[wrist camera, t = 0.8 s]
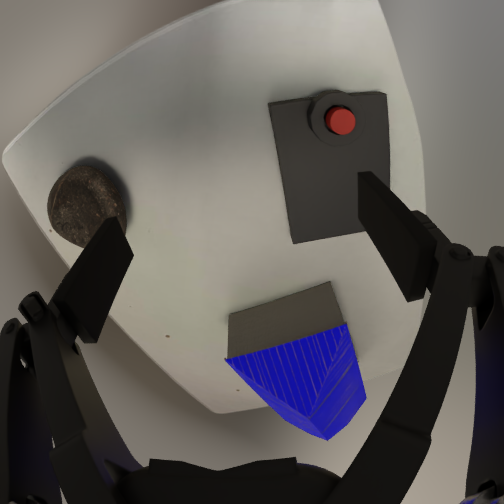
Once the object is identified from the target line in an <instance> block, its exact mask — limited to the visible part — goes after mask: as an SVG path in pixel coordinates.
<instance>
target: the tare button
mask: <svg viewBox="0 0 504 504" xmlns="http://www.w3.org/2000/svg"><path fill="white" fill-rule="evenodd" d="M326 123H327V125H328V126H329V128H331V129H332V130H333V131H334V132H336V133H338V134H341V135H345V134H348V133H350V132H351V131H352V130H353V129H354V127H355V117H354V115H353V114H352V113H351V112H350V111H349V110H347V109H344V108H342V107H334V108H332V109H330V110H329V111H328V113H327V115H326Z"/></svg>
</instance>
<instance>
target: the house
mask: <svg viewBox="0 0 504 504" xmlns="http://www.w3.org/2000/svg"><path fill="white" fill-rule="evenodd" d="M225 361H226V362H227V363H228V364H229V365H230V366H231V367H232V368H233V369H234V370H235V371H236V373H237V374H238V375H239V376H240V377H241V378H242V379H243V380H244V381H245V382H246V383H247V384H248V385H249V386H250V387H251V388H252V389H253V390H254V391H255V392H256V393H257V394H258V395H259V396H260V397H261V398H262V399H263V400H264V401H265V402H266V403H267V404H268V405H269V406H271V407H272V408H273V409H274V410H275V411H276V412H277V413H278V414H279V415H280V416H281V417H282V418H283V419H284V420H285V421H287V422H289V423H291V424H293V425H294V426H296V427H298V428H300V429H302V430H304V431H305V432H307V433H309V434H311V435H314V436H317V437H319V438H322V439H324V440H327V441H328V440H329V439H330V438H332V437H333V436H334V435H335V434H336V433H338V432H339V431H340V430H341V429H343V428H344V427H345V426H346V425H347V424H348V423H349V422H350V421H351V419H352V418H353V416H354V415H355V414H356V412H357V411H358V410H359V408H360V407H361V405H362V404H363V403H364V401H365V400H366V394H365V389H364V385H363V381H362V377H361V374H360V370H359V366H358V362H357V358H356V355H355V351H354V347H353V344H352V340H351V337H350V333H349V330H348V326H347V323H346V322H345V324H344V322H343V318H342V315H341V312H340V309H339V306H338V303H337V300H336V297H335V294H334V291H333V288H332V285H331V282H327V283H324V284H321V285H318V286H316V287H313V288H310V289H307V290H304V291H301V292H298V293H295V294H292V295H290V296H287V297H284V298H281V299H278V300H275V301H272V302H268V303H265V304H262V305H259V306H256V307H253V308H250V309H247V310H243V311H240V312H237V313H234V314H231V315H229V325H228V356H227V359H226V358H225Z"/></svg>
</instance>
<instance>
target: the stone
mask: <svg viewBox="0 0 504 504" xmlns="http://www.w3.org/2000/svg"><path fill="white" fill-rule="evenodd" d="M47 211H48V216H49V220H50V223H51V226H52V227H53V229H54V230H55V231H56V232H57V233H58V234H59V235H60V236H61V237H63V238H64V239H66V240H68V241H69V242H71V243H73V244H75V245H77V246H80V247H82V248H85V247H86V245H87V244H88V242H89V241H90V240H91V238H92V237H93V235H94V234H95V233H96V231H97V230H98V228H99V227H100V226H101V224H102V223H103V222H104V220H105V219H106V218H110V217H114V216H117V218H118V221H119V223H120V225H121V228H122V230H123V232H124V234H126V227H127V220H126V211H125V207H124V203H123V201H122V198H121V196H120V194H119V192H118V191H117V189H116V188H115V186H114V185H113V183H112V182H111V181H110V179H109V178H108V177H107V176H106V175H105V174H104V173H103V172H102V171H100V170H99V169H97V168H95V167H92V166H78V167H74V168H71V169H70V170H68V171H67V172H65V173H64V174H63V175H62V176H60V178H59V179H58V180H57V181H56V183H55V184H54V186H53V187H52V189H51V191H50V194H49V197H48V203H47Z"/></svg>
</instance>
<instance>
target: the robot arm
mask: <svg viewBox="0 0 504 504" xmlns="http://www.w3.org/2000/svg"><path fill="white" fill-rule="evenodd" d="M357 174H358V219H359V221H360V222H361V224H362V226H363V227H364V229H365V230H366V232H367V233H368V235H369V237H370V238H371V240H372V241H373V243H374V245H375V246H376V248H377V250H378V251H379V253H380V255H381V256H382V258H383V260H384V261H385V263H386V265H387V267H388V268H389V270H390V272H391V273H392V275H393V277H394V279H395V281H396V282H397V284H398V286H399V288H400V290H401V291H402V293H403V295H404V297H405V299H406V301H407V302H411V301H415V300H419V299H423V298H424V295H425V291H426V288H428V290H429V292H430V293H431V295H430V299H429V302H428V305H427V308H426V311H425V314H424V317H423V320H422V322H421V325H420V328H419V331H418V333H417V336H416V339H415V341H414V344H413V346H412V349H411V351H410V354H409V356H408V359H407V361H406V363H405V366H404V368H403V370H402V372H401V375H400V377H399V379H398V381H397V383H396V385H395V388H394V390H393V392H392V394H391V396H390V398H389V400H388V402H387V404H386V406H385V408H384V409H383V411H382V413H381V415H380V417H379V419H378V420H377V422H376V424H375V426H374V428H373V430H372V431H371V433H370V435H369V436H368V438H367V440H366V442H365V443H364V445H363V446H362V448H361V450H360V451H359V453H358V454H357V456H356V457H355V459H354V461H353V462H352V464H351V465H350V467H349V468H348V470H347V471H346V473H345V474H344V475H343V477H342V478H341V477H339V476H338V475H336V474H334V473H333V472H330V471H328V470H326V469H324V468H321V467H318V466H314V465H309V464H302V463H297V460H296V457H291V458H282V459H273V460H261V461H255V462H251V463H248V464H244V465H241V466H237V467H233V468H229V469H225V470H220V471H216V470H211V469H207V468H204V467H199V466H196V465H193V464H189V463H186V462H182V461H172V460H160V459H150V461H149V466H147V467H142V466H141V465H140V464H139V463H138V462H137V461H136V460H135V459H134V457H133V456H132V455H131V453H130V451H129V450H128V448H127V446H126V444H125V443H124V441H123V439H122V438H121V436H120V434H119V432H118V430H117V429H116V427H115V425H114V423H113V421H112V419H111V417H110V415H109V413H108V412H107V409H106V408H105V405H104V403H103V401H102V399H101V397H100V395H99V393H98V391H97V388H96V386H95V384H94V382H93V379H92V377H91V375H90V372H89V370H88V368H87V365H86V363H85V360H84V358H83V356H82V353H81V350H80V347H79V346H78V344H77V343H76V342H75V339H76V337H77V335H78V336H79V337H80V338H81V340H82V341H83V342H84V343H97V341H98V338H99V336H100V333H101V330H102V328H103V325H104V323H105V320H106V318H107V315H108V313H109V311H110V308H111V306H112V303H113V301H114V299H115V296H116V294H117V292H118V289H119V287H120V285H121V283H122V280H123V278H124V276H125V274H126V272H127V269H128V267H129V265H130V263H131V261H132V259H133V257H134V254H133V252H132V250H131V248H130V246H129V243H128V241H127V239H126V237H125V234H124V232H123V230H122V228H121V225H120V223H119V221H118V218H117V216H114V217H110V218H106V219H105V220H104V222H103V223H102V224H101V226H100V227H99V228H98V230H97V231H96V233H95V234H94V235H93V237H92V238H91V240H90V241H89V242H88V244H87V245H86V247H85V248H84V250H83V251H82V253H81V254H80V256H79V257H78V259H77V260H76V262H75V263H74V265H73V266H72V268H71V269H70V271H69V272H68V273H67V274H66V275H65V277H64V279H63V280H62V283H60V285H59V287H58V289H57V290H56V292H55V293H54V295H53V297H52V298H51V300H50V302H49V304H48V305H47V304H46V302H45V301H44V299H43V298H42V296H41V295H40V294H39V292H37V291H35V292H32V293H30V294H28V295H27V296H26V297H25V298H24V299H23V300H22V301H21V303H20V304H19V308H18V310H19V311H20V312H21V314H22V315H23V316H24V317H25V319H26V320H27V321H28V323H26V324H23V325H22V324H21V323H20V322H19V320H18V319H17V318H13V319H10V320H9V321H7V322H6V323H5V324H4V327H3V328H2V330H1V333H0V504H62V497H61V492H60V488H61V490H62V492H63V494H64V497H65V499H66V501H67V503H68V504H400V503H401V502H402V500H403V498H404V497H405V495H406V493H407V491H408V490H409V488H410V486H411V484H412V482H413V480H414V479H415V477H416V475H417V473H418V471H419V469H420V467H421V465H422V463H423V461H424V459H425V457H426V455H427V452H428V450H429V447H430V445H431V432H432V429H433V427H434V424H435V422H436V419H437V417H438V414H439V412H440V409H441V406H442V403H443V401H444V398H445V395H446V392H447V388H448V386H449V382H450V379H451V376H452V373H453V369H454V366H455V362H456V359H457V355H458V351H459V347H460V343H461V338H462V334H463V329H464V325H465V320H466V314H467V309H468V307H471V308H472V316H473V326H474V339H475V359H476V396H475V397H476V398H475V415H474V427H473V437H472V445H471V452H470V459H469V465H468V472H467V479H466V492H465V499H464V500H463V501H462V502H461V503H460V504H504V247H501V246H493V247H491V248H490V250H489V252H488V256H487V257H486V256H474V255H473V253H472V252H471V250H470V249H468V248H467V247H465V246H463V245H461V244H456V243H451V242H450V240H449V239H448V238H447V237H446V236H445V235H444V234H443V233H442V232H441V230H440V229H439V228H437V226H436V225H435V224H434V223H432V221H431V220H430V219H429V218H428V217H427V215H425V214H423V213H421V212H420V211H418V210H415V211H410V210H409V209H408V207H407V206H406V205H405V204H404V203H403V202H402V201H401V200H400V199H399V198H398V197H397V196H396V195H395V194H394V193H393V192H392V191H391V190H390V189H389V188H388V187H387V186H386V185H385V184H384V183H383V182H382V181H381V180H380V179H379V178H378V177H377V176H376V175H375V174H374V173H373V172H372V171H364V172H357ZM20 358H21V359H22V360H23V362H25V364H26V367H25V368H24V366H23V365H22V362H21V360H20ZM52 438H53V440H54V444H55V448H53V443H52ZM59 485H60V486H59Z"/></svg>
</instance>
